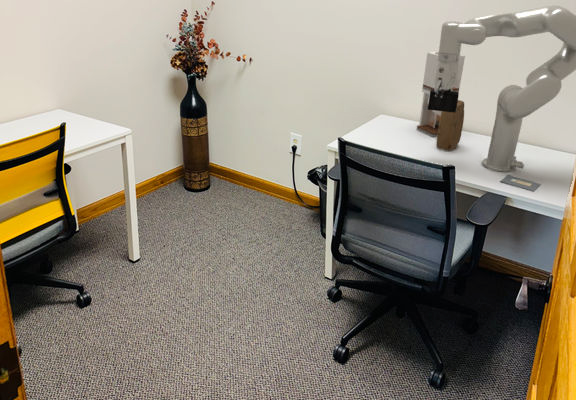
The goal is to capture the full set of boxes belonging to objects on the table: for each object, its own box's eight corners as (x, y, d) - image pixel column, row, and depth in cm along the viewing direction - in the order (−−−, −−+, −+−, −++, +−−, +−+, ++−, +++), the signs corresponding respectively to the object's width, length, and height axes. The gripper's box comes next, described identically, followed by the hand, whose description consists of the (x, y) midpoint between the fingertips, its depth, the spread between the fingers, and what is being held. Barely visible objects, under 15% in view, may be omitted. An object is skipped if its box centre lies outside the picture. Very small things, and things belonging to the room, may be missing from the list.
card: (540, 184, 198) (540, 183, 198) (533, 191, 193) (533, 190, 193) (507, 175, 205) (507, 174, 205) (500, 182, 200) (500, 180, 199)
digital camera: (456, 109, 208) (459, 91, 205) (455, 112, 204) (459, 94, 200) (428, 106, 211) (431, 88, 208) (427, 109, 206) (430, 91, 203)
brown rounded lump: (449, 152, 225) (457, 105, 216) (433, 148, 229) (440, 101, 221) (461, 146, 232) (469, 100, 224) (445, 141, 237) (453, 96, 228)
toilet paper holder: (416, 129, 250) (427, 52, 235) (434, 126, 255) (446, 50, 239) (433, 137, 241) (445, 57, 226) (451, 134, 246) (465, 55, 230)
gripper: (448, 62, 190) (441, 112, 198) (468, 55, 202) (461, 102, 210) (428, 59, 195) (422, 108, 203) (449, 52, 207) (442, 99, 215)
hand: (442, 105), depth 206 cm, fingers closed on digital camera, 6 cm apart
